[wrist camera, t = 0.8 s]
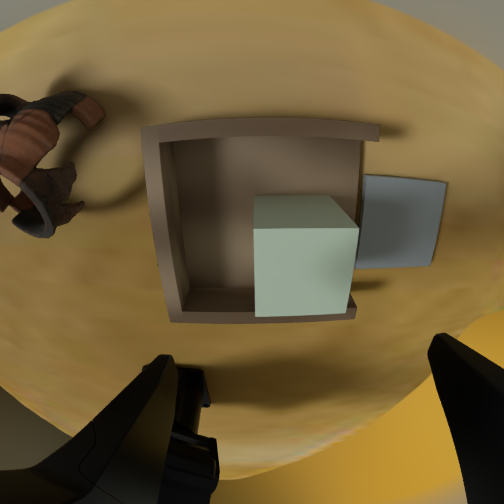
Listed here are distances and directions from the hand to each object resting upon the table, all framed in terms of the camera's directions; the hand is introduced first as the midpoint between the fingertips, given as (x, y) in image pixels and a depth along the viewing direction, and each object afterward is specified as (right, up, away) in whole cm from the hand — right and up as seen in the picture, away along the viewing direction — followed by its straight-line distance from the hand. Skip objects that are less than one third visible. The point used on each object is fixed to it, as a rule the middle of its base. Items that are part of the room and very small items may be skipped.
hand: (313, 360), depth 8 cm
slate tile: (+9, +6, +11) cm, 15 cm away
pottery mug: (-17, +12, +9) cm, 22 cm away
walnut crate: (-1, +6, +11) cm, 12 cm away
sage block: (+1, +5, +11) cm, 12 cm away
